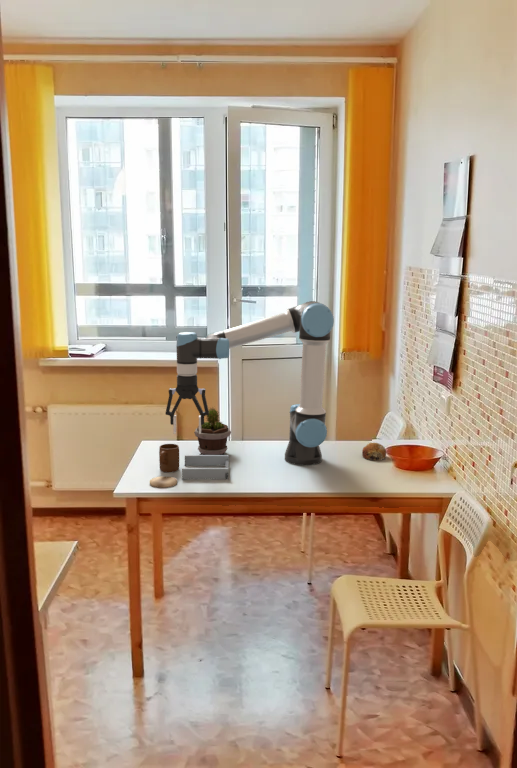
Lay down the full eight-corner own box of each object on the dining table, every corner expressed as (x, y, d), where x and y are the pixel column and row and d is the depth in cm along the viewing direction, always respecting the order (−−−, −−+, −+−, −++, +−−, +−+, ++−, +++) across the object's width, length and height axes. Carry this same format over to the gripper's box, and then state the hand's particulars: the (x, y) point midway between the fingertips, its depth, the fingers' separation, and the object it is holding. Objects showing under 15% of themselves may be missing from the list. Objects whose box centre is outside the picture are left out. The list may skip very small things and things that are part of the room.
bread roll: (387, 465, 276) (391, 447, 277) (379, 461, 267) (383, 442, 268) (365, 461, 281) (369, 443, 282) (356, 457, 272) (361, 438, 274)
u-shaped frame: (228, 464, 262) (228, 455, 261) (228, 479, 246) (228, 468, 245) (184, 464, 261) (184, 454, 261) (181, 479, 245) (181, 468, 244)
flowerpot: (230, 459, 269) (230, 411, 265) (192, 458, 269) (192, 410, 265) (232, 448, 283) (232, 403, 279) (196, 448, 283) (196, 402, 279)
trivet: (178, 478, 246) (178, 476, 245) (176, 487, 236) (176, 485, 236) (151, 478, 245) (151, 476, 245) (147, 487, 235) (147, 485, 235)
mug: (170, 477, 246) (170, 453, 245) (151, 475, 248) (151, 451, 246) (182, 467, 258) (182, 444, 256) (164, 465, 260) (163, 442, 258)
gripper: (216, 372, 250) (216, 430, 254) (158, 372, 249) (159, 430, 253) (215, 376, 242) (215, 435, 247) (156, 375, 241) (157, 435, 246)
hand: (187, 432), depth 250 cm, fingers open, 9 cm apart
